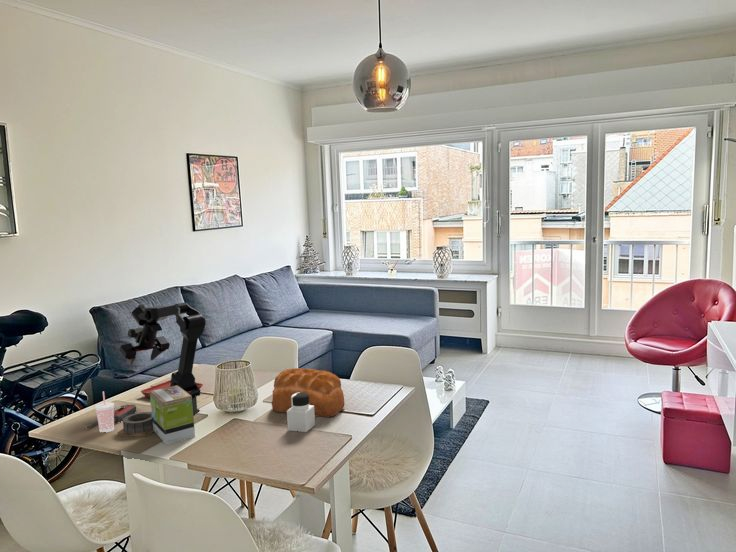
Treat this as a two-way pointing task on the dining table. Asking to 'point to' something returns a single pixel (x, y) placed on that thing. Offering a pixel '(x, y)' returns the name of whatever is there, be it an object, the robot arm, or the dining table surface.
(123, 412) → the walkie-talkie
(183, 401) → the tea box
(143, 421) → the cup holder
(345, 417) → the dining table surface
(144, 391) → the plant saucer
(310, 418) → the medicine bottle
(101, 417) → the beverage cup
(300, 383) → the bread
